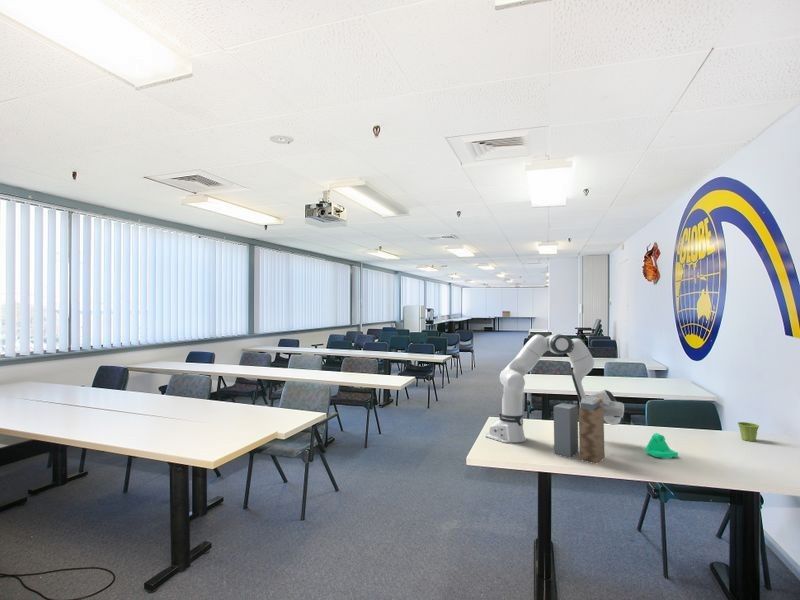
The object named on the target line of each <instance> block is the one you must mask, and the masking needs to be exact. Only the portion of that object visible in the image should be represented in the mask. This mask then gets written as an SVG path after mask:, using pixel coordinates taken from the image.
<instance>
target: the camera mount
mask: <svg viewBox="0 0 800 600" xmlns="http://www.w3.org/2000/svg"><path fill="white" fill-rule="evenodd" d="M645 453H647V454H649V455H651V456H653V457H654V458H655V457H656V458H660V457H661V459H662V458H670V459H673V457H678V456H679V454H678V452H677V451H675V450H673V449H671V448H670V447H669V444H668V443H667V441H666V438H665V436H664V435H663V434H660V433H657V432H656V433H653V434H652V435H651V438H650V440H649V441H648V443H647V445H646V447H645Z"/></svg>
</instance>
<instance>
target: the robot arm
mask: <svg viewBox="0 0 800 600" xmlns="http://www.w3.org/2000/svg"><path fill="white" fill-rule="evenodd" d="M546 352H550V353H553V354H557V355H558V354H559V355H563V354H566V355H567V356H568V357H569V359H570V361H571V363H572V370H571V373H570V374H571V378H572V383H573V385H574V388H575V391H576V394H577V398H578V401H579V408H580V407H581V403H582V399H583V398H585V397H587V396H590V397H600V398H603V399H601V402H602V403H600V406H602V407H603V408H604V421H605V423H606V424H609V425H611V426H615V425H618V424H619V423H621V420H622V418H623V417H624V413H625V404H624V403H623V402H621V401H617V399H616V397H615V396H614V394H613V392H611V391H609V390H607V389H603V390H599V391H597V392H595V393H592V394H589V395H586V394H585V393H586V392H585V390H584V388H583V387H584V386H583V385H582V384H583V383H582V382H583V379H584V378H585V377H586V376H587V375H588V374H590V372H591V371H592V370H593V368H594V366H595V360H594V357H593V356H592V353H591V352H590V350H589V348H588V347H587V345H586V344H585V343H584V341H583V340H582V339H580V338H572V339H570V337H567V336H566V335H564V334H559V333H553V334H552V333H551V334H549V335H547V336H543V335H542V334H538V333H537V334H534V335H533V336H531V338H530V339H529V340H528V341H527V342H525V344H524V345H523V346H522V348H521V349H520V351H519V352H518V353H517V355H516V356H515V357H514V359H512V361H510V363H509V364H507V366H506V367H504V369H502V370H501V372H500V374H499V382H500V383H501V385H502V386H503V392H502V393H503V394H502V399H501V410H502V411H501V413H499V414H498V416H497V417H499V419H497V420H495V421H494V422H493V423H492V424H491V425H490V426H489V431H488V432H486V433H485V434H484V435H485V436H484V437H485V438H488V439H491V440H495V441H497V440H498V441H497V442H500V443H501V442H502V443H505V444H506V443H509V444H510V443H523V442H526V440H527V439H526V436H525V431H524V414H523V396H524V391H525V390H524V387H525V386H526V381H525V376H526V375H527V374H528V373H529V372H530V371H532V370H533V369H534V367H535V366H536V365H537V364H538V363H539V361H540V359H541V358H542V356H543V355H544V354H545V353H546Z"/></svg>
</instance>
